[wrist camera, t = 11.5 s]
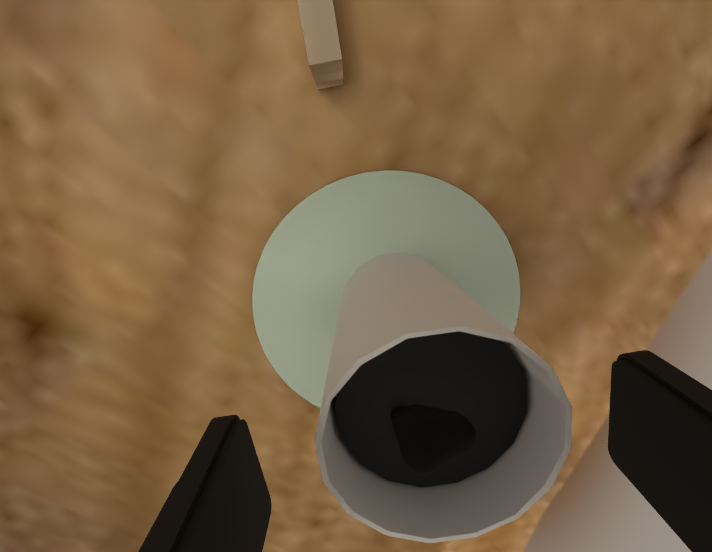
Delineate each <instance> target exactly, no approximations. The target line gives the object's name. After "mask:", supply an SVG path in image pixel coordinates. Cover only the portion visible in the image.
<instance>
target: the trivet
mask: <svg viewBox="0 0 712 552" xmlns="http://www.w3.org/2000/svg"><path fill="white" fill-rule="evenodd" d="M398 252H402V253H406V254H410V255H414V256H418V257H422V258H423V259H425V260H426V261H427V262H429V263H430V264H431V265H433V266H434V267H435V268H437V269H438V270H439V271H440V272H441V273H442V274H444V275H445V276H446V277H447V278H448V279H449V280H451V281H452V282H453V283H454V284H455V285H457V286H458V287H459V288H460V289H461V290H462V291H464V292H465V293H466V294H467V295H468V296H469V297H471V298H472V299H473V300H474V301H475V302H476V303H478V304H479V305H480V306H481V307H482V308H483V309H485V310H486V311H487V312H488V313H489V314H490V315H492V316H493V317H494V318H495V319H496V320H497V321H499V322H500V323H501V324H502V325H503V326H505V327H506V328H507V329H508V330H509V331H510V332H512V333H514V330H515V326H516V323H517V320H518V314H519V307H520V279H519V271H518V267H517V263H516V259H515V256H514V253H513V250H512V248H511V246H510V243H509V241H508V239H507V237H506V235H505V234H504V232H503V231H502V229H501V227H500V226H499V224H498V223H497V222H496V220H495V219H494V218H493V217H492V216H491V214H490V213H489V212H488V211H487V210H486V209H485V208H484V207H483V206H482V205H481V204H480V203H478V202H477V201H476V200H475V199H474V198H473V197H471V196H470V195H468V194H467V193H465V192H464V191H462V190H461V189H459V188H457V187H455V186H453V185H451V184H449V183H447V182H445V181H443V180H440V179H437V178H434V177H431V176H428V175H424V174H420V173H414V172H408V171H389V170H382V171H373V172H364V173H360V174H356V175H352V176H348V177H345V178H343V179H340V180H338V181H335V182H333V183H330V184H328V185H326V186H325V187H323V188H321V189H319V190H317V191H316V192H314V193H312V194H311V195H309V196H308V197H307V198H306V199H304V200H303V201H302V202H300V203H299V204H298V205H296V206H295V207H294V208H293V209H292V210H291V211H290V212H289V213H288V214H287V215H286V216H285V217H284V218H283V220H282V221H281V222H280V224H279V225H278V226H277V228H276V229H275V230H274V232H273V233H272V235H271V237H270V238H269V240H268V242H267V244H266V246H265V247H264V249H263V252H262V255H261V257H260V260H259V263H258V265H257V269H256V274H255V278H254V283H253V295H252V305H253V317H254V322H255V327H256V332H257V335H258V338H259V341H260V344H261V346H262V348H263V350H264V352H265V354H266V356H267V358H268V360H269V362H270V363H271V365H272V366H273V368H274V369H275V371H276V372H277V374H278V375H279V376H280V377H281V378H282V379H283V380H284V381H285V383H286V384H287V385H288V386H289V387H290V388H292V389H293V390H294V391H295V392H296V393H297V394H299V395H300V396H301V397H303V398H304V399H306V400H307V401H309V402H310V403H312V404H313V405H315V406H317V407H319V408H321V404H322V399H323V394H324V388H325V383H326V378H327V372H328V367H329V362H330V357H331V351H332V346H333V341H334V336H335V330H336V325H337V320H338V314H339V309H340V303H341V299H342V296H343V292H344V288H345V284H346V283H347V281H348V280H349V279H350V277H351V276H352V275H353V274H354V272H355V271H356V270H357V268H358V267H359V266H361V265H363V264H364V263H366V262H368V261H369V260H371V259H373V258H375V257H376V256H378V255H385V254H392V253H398Z"/></svg>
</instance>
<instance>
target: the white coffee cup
mask: <svg viewBox="0 0 712 552" xmlns="http://www.w3.org/2000/svg"><path fill="white" fill-rule="evenodd" d="M571 420H572V406H571V404H570V402H569V400H568V398H567V396H566V394H565V392H564V390H563V388H562V386H561V384H560V382H559V380H558V378H557V376H556V374H555V372H554V370H553V368H552V367H551V366H550V365H549V364H548V363H547V362H546V361H544V360H543V359H542V358H541V357H540V356H538V355H537V354H536V353H535V352H534V351H533V350H531V349H530V348H529V347H528V346H527V345H526V344H524V343H523V342H522V341H521V340H520V339H519V338H517V337H516V336H515V335H514V334H513V333H512V332H510V331H509V330H508V329H507V328H506V327H505V326H503V325H502V324H501V323H500V322H499V321H497V320H496V319H495V318H494V317H493V316H492V315H490V314H489V313H488V312H487V311H486V310H485V309H483V308H482V307H481V306H480V305H479V304H478V303H476V302H475V301H474V300H473V299H472V298H471V297H469V296H468V295H467V294H466V293H465V292H464V291H462V290H461V289H460V288H459V287H458V286H457V285H455V284H454V283H453V282H452V281H451V280H449V279H448V278H447V277H446V276H445V275H444V274H442V273H441V272H440V271H439V270H438V269H437V268H435V267H434V266H433V265H431V264H430V263H429V262H427V261H426V260H425V259H423V258H422V257H418V256H414V255H410V254H406V253H402V252H398V253H392V254H385V255H378V256H376V257H375V258H373V259H371V260H369V261H368V262H366V263H364V264H363V265H361V266H359V267H358V268H357V270H356V271H355V272H354V274H353V275H352V276H351V277H350V279H349V280H348V281H347V283H346V284H345V288H344V292H343V296H342V299H341V303H340V309H339V314H338V320H337V325H336V330H335V336H334V341H333V346H332V351H331V357H330V362H329V367H328V372H327V378H326V383H325V388H324V394H323V399H322V404H321V409H320V415H319V420H318V425H317V430H316V436H315V441H314V442H315V446H316V451H317V456H318V461H319V465H320V470H321V475H322V480H323V482H324V484H325V485H326V486H327V488H328V489H329V490H330V491H331V493H332V494H333V495H334V497H335V498H336V499H337V500H338V502H339V503H340V504H341V506H342V507H343V508H344V509H345V511H346V512H347V513H348V514H349V515H350V516H352V517H354V518H356V519H358V520H359V521H361V522H363V523H365V524H366V525H368V526H370V527H372V528H374V529H375V530H377V531H379V532H381V533H382V534H384V535H387V536H392V537H398V538H403V539H409V540H415V541H420V542H426V543H435V542H443V541H451V540H459V539H467V538H475V537H478V536H480V535H482V534H484V533H487V532H489V531H491V530H493V529H495V528H498V527H500V526H502V525H504V524H507V523H509V522H511V521H513V520H515V519H518V518H519V517H520V516H521V515H522V514H523V513H524V512H526V511H527V510H528V509H529V508H530V507H531V506H532V505H533V504H534V503H535V502H536V501H538V500H539V499H540V498H541V497H542V496H543V495H544V494H545V493H546V492H547V491H549V490H550V489H551V488H552V486H553V484H554V482H555V480H556V478H557V476H558V474H559V472H560V470H561V468H562V466H563V464H564V462H565V460H566V458H567V456H568V454H569V452H570V450H571Z"/></svg>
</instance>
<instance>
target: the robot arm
mask: <svg viewBox="0 0 712 552" xmlns="http://www.w3.org/2000/svg"><path fill="white" fill-rule="evenodd" d="M608 450H609V454H610V456H611V458H612V460H613V462H614V463H615V464H616V465H617V467H618V468H619V469H620V470H621V471H622V472H623V473H624V475H625V476H626V477H627V478H628V479H629V480H630V482H631V483H632V484H633V485H634V486H635V487H636V488H637V489H638V491H639V492H640V493H641V494H642V495H643V496H644V498H645V499H646V500H647V501H648V502H649V503H650V504H651V506H652V507H653V508H654V509H655V510H656V511H657V512H658V514H659V515H660V516H661V517H662V518H663V519H664V520H665V522H666V523H667V524H668V525H669V526H670V527H671V528H672V529H673V531H674V532H675V533H676V534H677V535H678V536H679V537H680V539H681V540H682V541H683V542H684V543H685V544H686V545H687V547H688V548H689V549H690V550H691V551H692V552H712V390H710V389H709V388H707V387H706V386H704V385H702V384H701V383H699V382H698V381H696V380H695V379H693V378H691V377H690V376H688V375H687V374H685V373H684V372H682V371H680V370H679V369H677V368H676V367H674V366H673V365H671V364H669V363H668V362H666V361H665V360H663V359H661V358H660V357H658V356H657V355H655V354H653V353H652V352H650V351H645V350H643V351H637V352H631V353H624V354H621V355H619V356H618V358H617V361H615V362H613V364H612V372H611V394H610V415H609V436H608ZM270 514H271V498H270V495H269V491H268V488H267V485H266V482H265V479H264V476H263V473H262V469H261V466H260V463H259V460H258V457H257V454H256V451H255V447H254V444H253V441H252V438H251V435H250V432H249V429H248V425H247V423H246V421H245V420H244V419H242V420H240V419H239V417H238V416H237V415H230V416H223V417H217V418H213V419H212V420H211V422H210V423H209V425H208V427H207V429H206V431H205V433H204V435H203V437H202V438H201V440H200V442H199V444H198V446H197V448H196V450H195V451H194V453H193V455H192V457H191V459H190V461H189V463H188V464H187V466H186V468H185V470H184V472H183V474H182V476H181V478H180V479H179V481H178V482H177V483H176V485H175V486H174V488H173V489H172V491H171V493H170V495H169V497H168V498H167V500H166V502H165V504H164V506H163V508H162V509H161V511H160V513H159V515H158V517H157V519H156V520H155V522H154V524H153V526H152V528H151V530H150V532H149V533H148V535H147V537H146V539H145V541H144V543H143V544H142V546H141V548H140V550H139V552H262V550H263V545H264V541H265V537H266V532H267V528H268V523H269V519H270Z"/></svg>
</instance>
